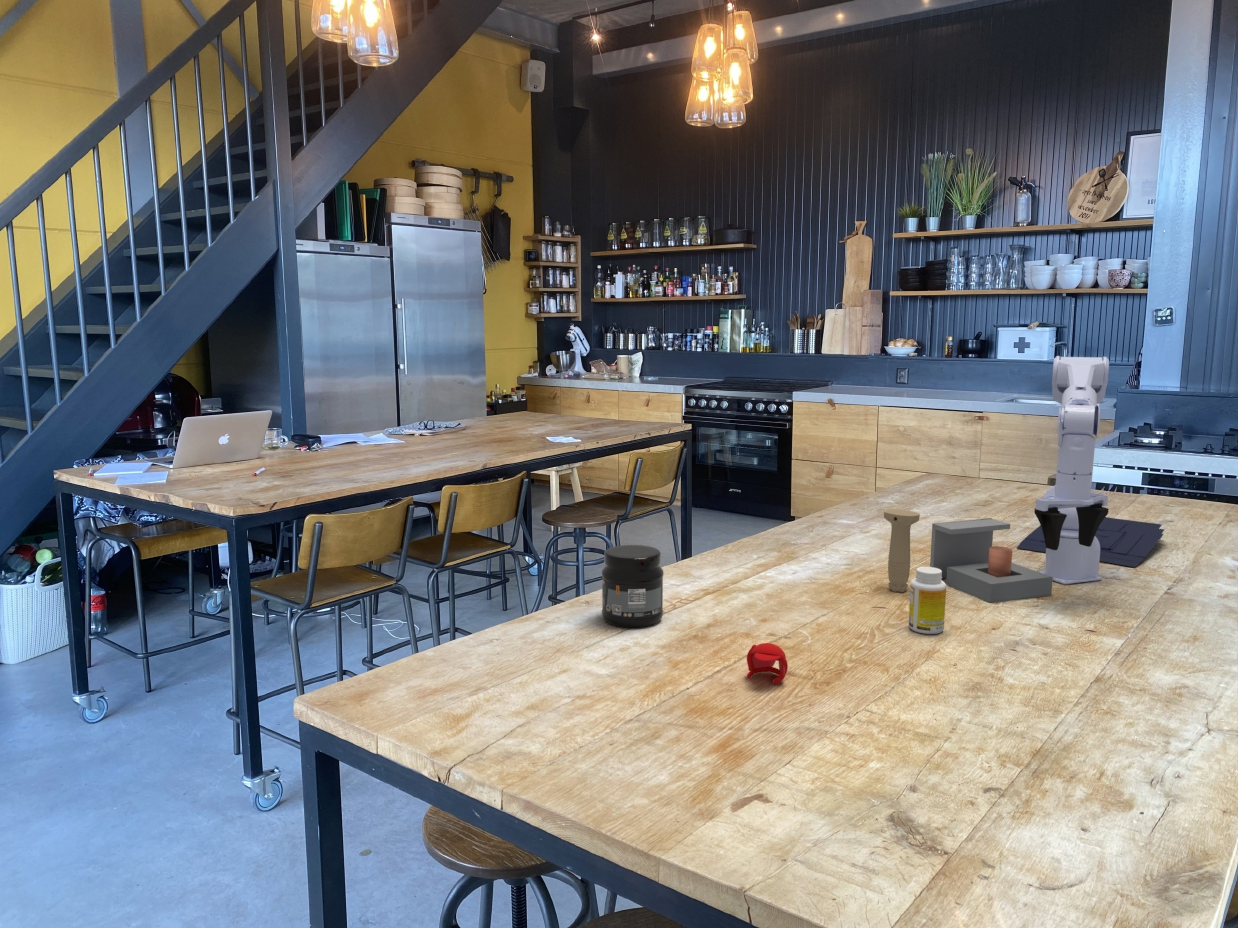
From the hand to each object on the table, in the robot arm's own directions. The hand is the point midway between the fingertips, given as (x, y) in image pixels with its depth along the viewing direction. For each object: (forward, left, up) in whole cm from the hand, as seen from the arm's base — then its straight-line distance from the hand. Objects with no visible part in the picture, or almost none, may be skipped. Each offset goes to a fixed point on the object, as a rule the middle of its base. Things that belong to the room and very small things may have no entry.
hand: (1068, 547), depth 163 cm
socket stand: (+6, -12, -10) cm, 17 cm away
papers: (-38, -30, -11) cm, 50 cm away
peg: (+6, -10, -10) cm, 15 cm away
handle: (+24, -16, -10) cm, 31 cm away
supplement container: (+77, -17, -10) cm, 80 cm away
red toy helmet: (+68, +14, -10) cm, 70 cm away
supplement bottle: (+33, +4, -10) cm, 35 cm away
